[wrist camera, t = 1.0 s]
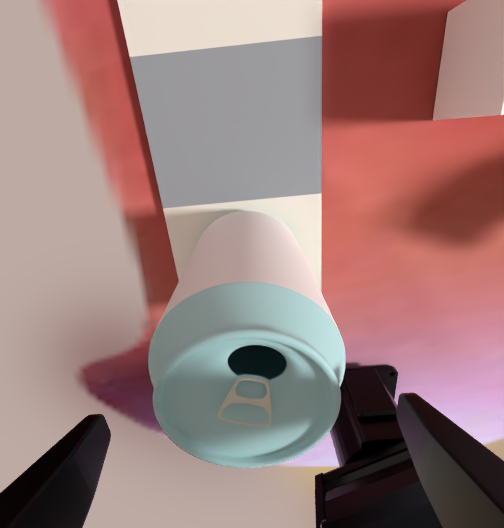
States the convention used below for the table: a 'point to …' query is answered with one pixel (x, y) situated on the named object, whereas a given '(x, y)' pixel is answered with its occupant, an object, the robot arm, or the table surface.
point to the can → (246, 349)
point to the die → (472, 62)
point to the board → (231, 112)
